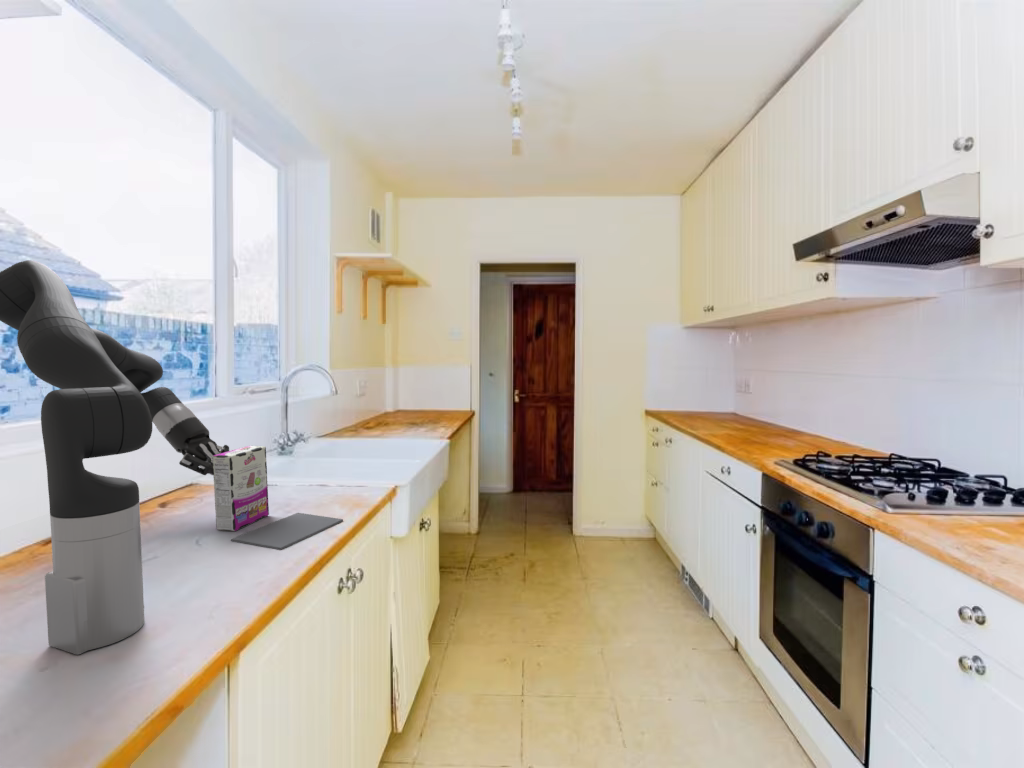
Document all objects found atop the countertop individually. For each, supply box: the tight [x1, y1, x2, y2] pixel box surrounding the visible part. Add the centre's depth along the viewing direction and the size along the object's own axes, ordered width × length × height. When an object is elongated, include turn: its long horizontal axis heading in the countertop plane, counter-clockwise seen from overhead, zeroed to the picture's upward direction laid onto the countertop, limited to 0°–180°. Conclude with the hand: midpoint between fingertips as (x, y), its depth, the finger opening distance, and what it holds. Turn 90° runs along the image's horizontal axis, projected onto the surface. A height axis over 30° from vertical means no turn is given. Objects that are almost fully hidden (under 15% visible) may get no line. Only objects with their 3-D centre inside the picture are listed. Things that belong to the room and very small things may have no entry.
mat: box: [230, 512, 344, 551], centre depth 108 cm, size 18×13×1 cm
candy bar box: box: [212, 445, 270, 532], centre depth 112 cm, size 11×5×16 cm, turn 168°
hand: (230, 483), depth 114 cm, fingers closed
